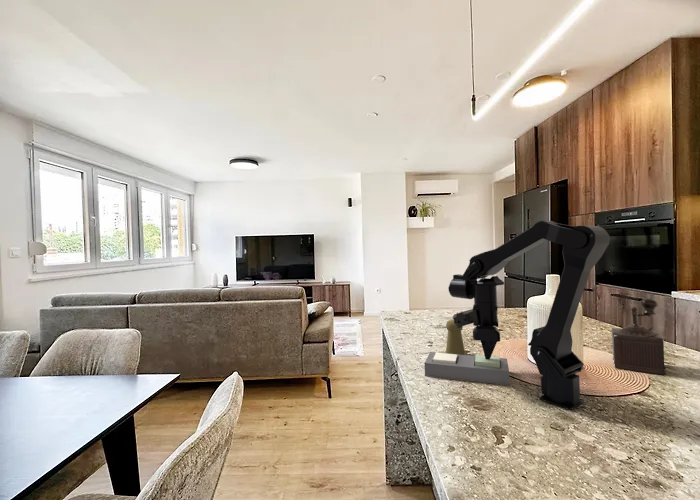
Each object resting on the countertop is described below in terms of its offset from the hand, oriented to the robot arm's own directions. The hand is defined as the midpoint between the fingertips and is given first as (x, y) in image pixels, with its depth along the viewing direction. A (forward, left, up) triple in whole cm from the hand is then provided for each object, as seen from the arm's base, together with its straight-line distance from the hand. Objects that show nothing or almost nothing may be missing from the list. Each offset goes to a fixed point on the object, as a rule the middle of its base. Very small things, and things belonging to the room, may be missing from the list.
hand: (487, 358), depth 89 cm
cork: (+18, -8, -5) cm, 20 cm away
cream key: (+9, +6, -4) cm, 12 cm away
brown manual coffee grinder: (-20, -40, -5) cm, 45 cm away
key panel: (+5, +3, -4) cm, 7 cm away
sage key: (0, 0, -3) cm, 3 cm away
